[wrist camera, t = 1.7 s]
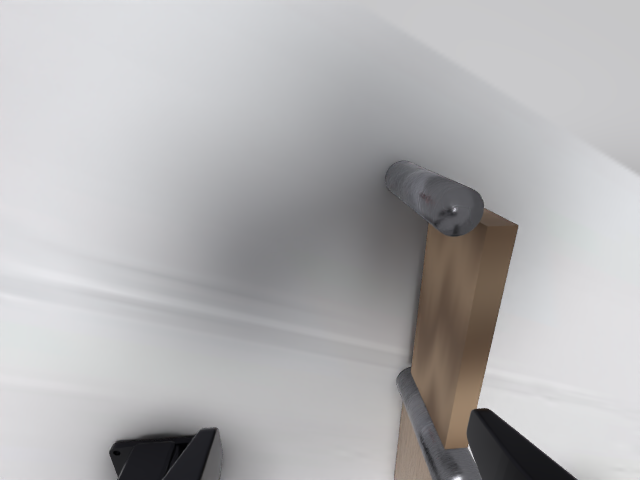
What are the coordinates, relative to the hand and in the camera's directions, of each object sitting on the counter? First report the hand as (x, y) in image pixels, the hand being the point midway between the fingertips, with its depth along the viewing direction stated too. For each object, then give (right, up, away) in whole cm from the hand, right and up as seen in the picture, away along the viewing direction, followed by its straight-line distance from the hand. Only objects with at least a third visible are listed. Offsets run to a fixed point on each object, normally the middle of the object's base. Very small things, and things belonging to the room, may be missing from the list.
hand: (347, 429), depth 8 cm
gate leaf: (+6, +2, +11) cm, 12 cm away
